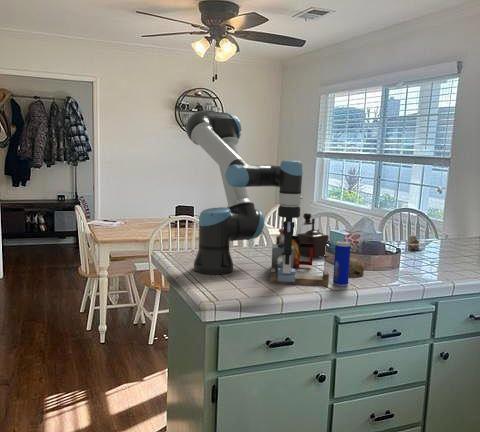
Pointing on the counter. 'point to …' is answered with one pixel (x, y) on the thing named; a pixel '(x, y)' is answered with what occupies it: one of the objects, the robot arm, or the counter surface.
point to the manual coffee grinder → (313, 239)
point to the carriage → (286, 276)
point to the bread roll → (355, 267)
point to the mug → (297, 244)
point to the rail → (303, 279)
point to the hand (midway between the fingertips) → (286, 271)
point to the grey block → (279, 257)
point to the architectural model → (413, 242)
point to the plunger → (281, 238)
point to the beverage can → (341, 263)
